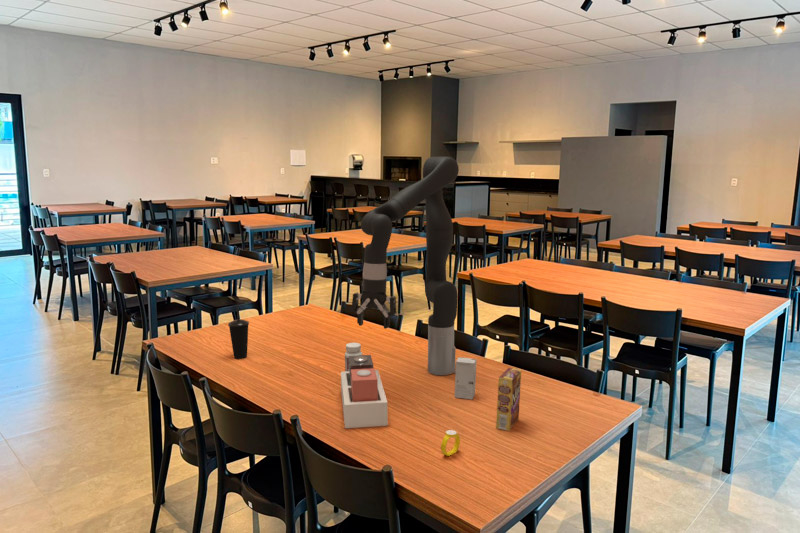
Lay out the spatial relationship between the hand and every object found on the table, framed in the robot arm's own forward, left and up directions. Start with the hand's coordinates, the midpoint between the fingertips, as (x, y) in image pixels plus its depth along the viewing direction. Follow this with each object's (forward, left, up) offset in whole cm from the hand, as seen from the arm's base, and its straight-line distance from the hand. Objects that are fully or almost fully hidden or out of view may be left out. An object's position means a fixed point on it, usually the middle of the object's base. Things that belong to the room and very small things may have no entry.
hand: (373, 326), depth 181 cm
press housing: (+5, +13, -22) cm, 26 cm away
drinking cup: (+48, -40, -22) cm, 66 cm away
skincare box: (-28, +9, -22) cm, 37 cm away
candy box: (-35, +30, -22) cm, 51 cm away
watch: (-15, +44, -22) cm, 51 cm away
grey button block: (+5, +7, -16) cm, 18 cm away
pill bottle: (+6, -14, -22) cm, 27 cm away
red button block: (+5, +19, -16) cm, 25 cm away
